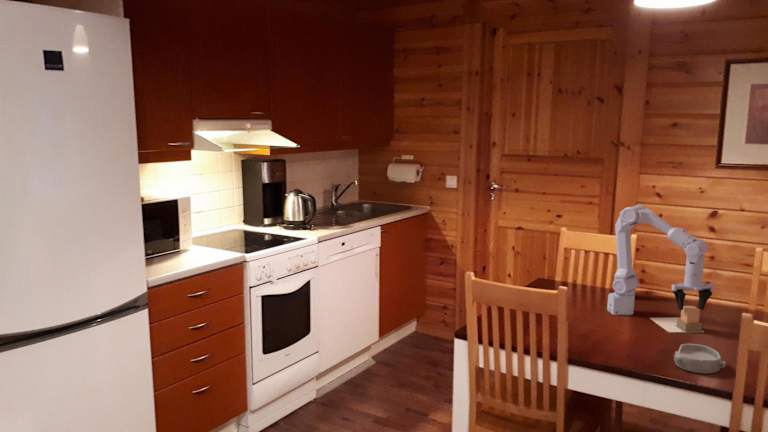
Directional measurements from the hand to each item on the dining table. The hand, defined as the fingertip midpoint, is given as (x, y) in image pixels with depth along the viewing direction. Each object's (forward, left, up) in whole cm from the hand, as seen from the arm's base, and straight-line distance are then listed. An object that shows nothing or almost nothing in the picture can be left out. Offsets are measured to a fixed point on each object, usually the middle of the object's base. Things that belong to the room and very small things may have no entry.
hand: (690, 309), depth 213 cm
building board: (-2, +4, -9) cm, 10 cm away
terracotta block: (0, 0, -5) cm, 5 cm away
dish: (-13, -29, -9) cm, 33 cm away
